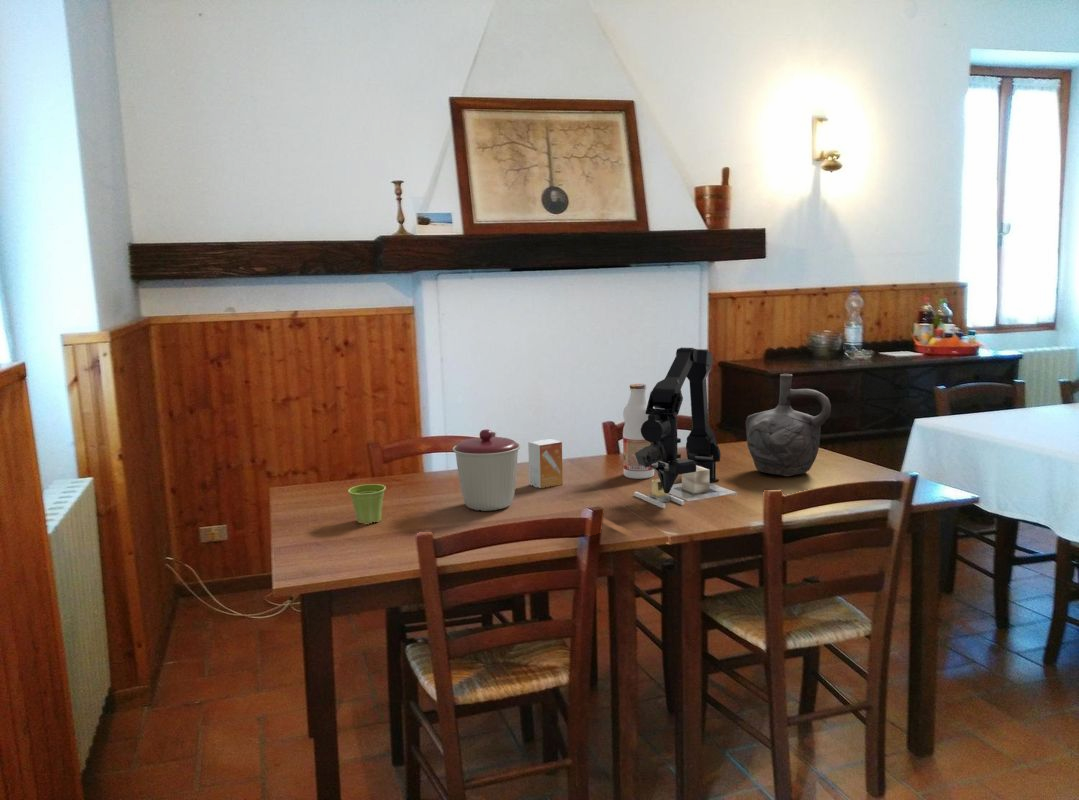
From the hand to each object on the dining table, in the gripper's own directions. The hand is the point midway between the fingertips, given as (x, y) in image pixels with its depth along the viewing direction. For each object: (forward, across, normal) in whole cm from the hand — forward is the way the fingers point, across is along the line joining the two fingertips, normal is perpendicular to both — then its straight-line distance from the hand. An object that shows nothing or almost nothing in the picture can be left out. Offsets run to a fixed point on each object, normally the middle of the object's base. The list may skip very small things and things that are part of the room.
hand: (666, 492), depth 216 cm
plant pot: (+4, -29, -72) cm, 78 cm away
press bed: (+4, -6, +14) cm, 16 cm away
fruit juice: (+4, -32, +12) cm, 35 cm away
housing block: (+3, -6, +14) cm, 16 cm away
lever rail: (+4, -4, 0) cm, 5 cm away
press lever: (+3, -3, 0) cm, 4 cm away
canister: (+4, -26, -40) cm, 48 cm away
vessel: (+4, -11, +50) cm, 51 cm away
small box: (+4, -38, -17) cm, 42 cm away
